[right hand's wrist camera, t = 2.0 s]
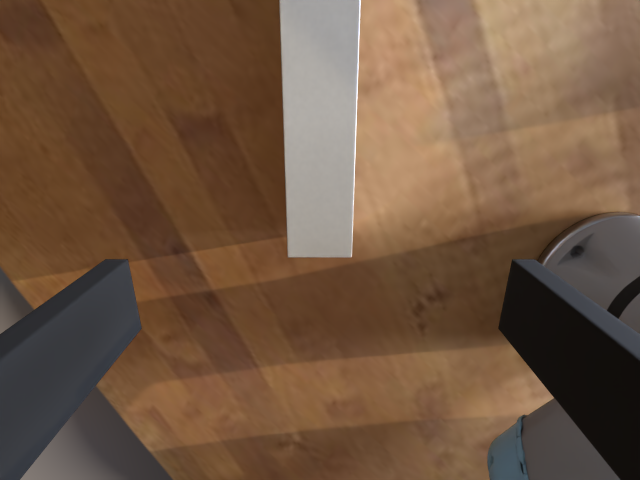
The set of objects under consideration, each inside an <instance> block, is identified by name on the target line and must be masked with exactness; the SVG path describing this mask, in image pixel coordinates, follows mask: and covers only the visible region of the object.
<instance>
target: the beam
mask: <svg viewBox="0 0 640 480" xmlns="http://www.w3.org/2000/svg"><path fill="white" fill-rule="evenodd" d="M279 7H280V37H281V68H282V98H283V128H284V158H285V189H286V219H287V249H288V257H352V236H353V206H354V177H355V147H356V117H357V87H358V57H359V27H360V0H279Z"/></svg>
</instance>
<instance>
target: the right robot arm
mask: <svg viewBox="0 0 640 480" xmlns="http://www.w3.org/2000/svg"><path fill="white" fill-rule="evenodd" d="M141 329H142V328H141V323H140V318H139V313H138V308H137V303H136V298H135V293H134V288H133V283H132V278H131V273H130V268H129V263H128V259H105V260H104V261H103V262H101V263H100V264H98V265H97V266H96V267H94V268H93V269H91V270H90V271H88V272H87V273H86V274H84V275H83V276H81V277H80V278H79V279H77V280H76V281H74V282H73V283H72V284H70V285H69V286H67V287H66V288H65V289H63V290H62V291H60V292H59V293H58V294H56V295H55V296H53V297H52V298H51V299H49V300H48V301H46V302H45V303H43V304H42V305H41V306H39V307H38V308H36V309H35V310H34V311H32V312H31V313H29V314H28V315H27V316H25V317H24V318H22V319H21V320H20V321H18V322H17V323H15V324H14V325H13V326H11V327H10V328H8V329H7V330H6V331H4V332H3V333H1V334H0V480H20V479H21V478H22V476H23V475H24V474H25V473H26V471H27V470H28V469H29V468H30V466H31V465H32V464H33V463H34V461H35V460H36V459H37V458H38V456H39V455H40V454H41V453H42V451H43V450H44V449H45V448H46V447H47V445H48V444H49V443H50V442H51V440H52V439H53V438H54V437H55V435H56V434H57V433H58V432H59V430H60V429H61V428H62V427H63V425H64V424H65V423H66V422H67V420H68V419H69V418H70V417H71V415H72V414H73V413H74V412H75V411H76V409H77V408H78V407H79V405H80V404H81V403H82V402H83V401H84V399H85V398H86V397H87V396H88V394H89V393H90V392H91V391H92V389H93V388H94V387H95V386H96V384H97V383H98V382H99V381H100V379H101V378H102V377H103V376H104V374H105V373H106V372H107V371H108V370H109V368H110V367H111V366H112V365H113V363H114V362H115V361H116V360H117V358H118V357H119V356H120V355H121V353H122V352H123V351H124V350H125V348H126V347H127V346H128V345H129V343H130V342H131V341H132V340H133V338H134V337H135V336H136V335H137V333H138V332H139V331H140V330H141ZM498 329H499V330H500V331H501V332H502V333H503V335H504V336H505V337H506V338H507V340H508V341H509V342H510V343H511V345H512V346H513V347H514V348H515V350H516V351H517V352H518V353H519V355H520V356H521V357H522V358H523V360H524V361H525V362H526V363H527V365H528V366H529V367H530V368H531V370H532V371H533V372H534V373H535V374H536V376H537V377H538V378H539V379H540V381H541V382H542V383H543V384H544V386H545V387H546V388H547V389H548V391H549V392H550V393H551V394H552V396H553V397H554V399H552V400H551V401H549V402H548V403H546V404H544V405H543V406H541V407H540V408H538V409H537V410H535V411H534V412H532V413H531V414H529V415H523V416H521V417H519V418H518V420H517V423H516V424H514V425H513V426H512V427H510V428H509V429H508V430H506V431H505V432H504V433H502V434H501V435H500V436H498V437H497V438H496V439H495V440H494V441H493V442H492V444H491V445H490V448H489V451H488V461H487V463H488V470H489V477H490V480H640V215H636V214H633V213H626V212H611V213H604V214H600V215H596V216H593V217H589V218H587V219H584V220H582V221H580V222H578V223H576V224H574V225H572V226H571V227H569V228H568V229H566V230H565V231H563V232H562V233H561V234H560V235H558V236H557V237H556V238H555V239H554V240H553V241H552V242H551V243H550V244H549V245H548V246H547V248H546V249H545V250H544V252H543V253H542V254H541V256H540V258H539V259H538V261H536V260H535V259H512V263H511V268H510V273H509V278H508V283H507V288H506V293H505V298H504V303H503V308H502V313H501V318H500V323H499V328H498Z"/></svg>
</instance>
